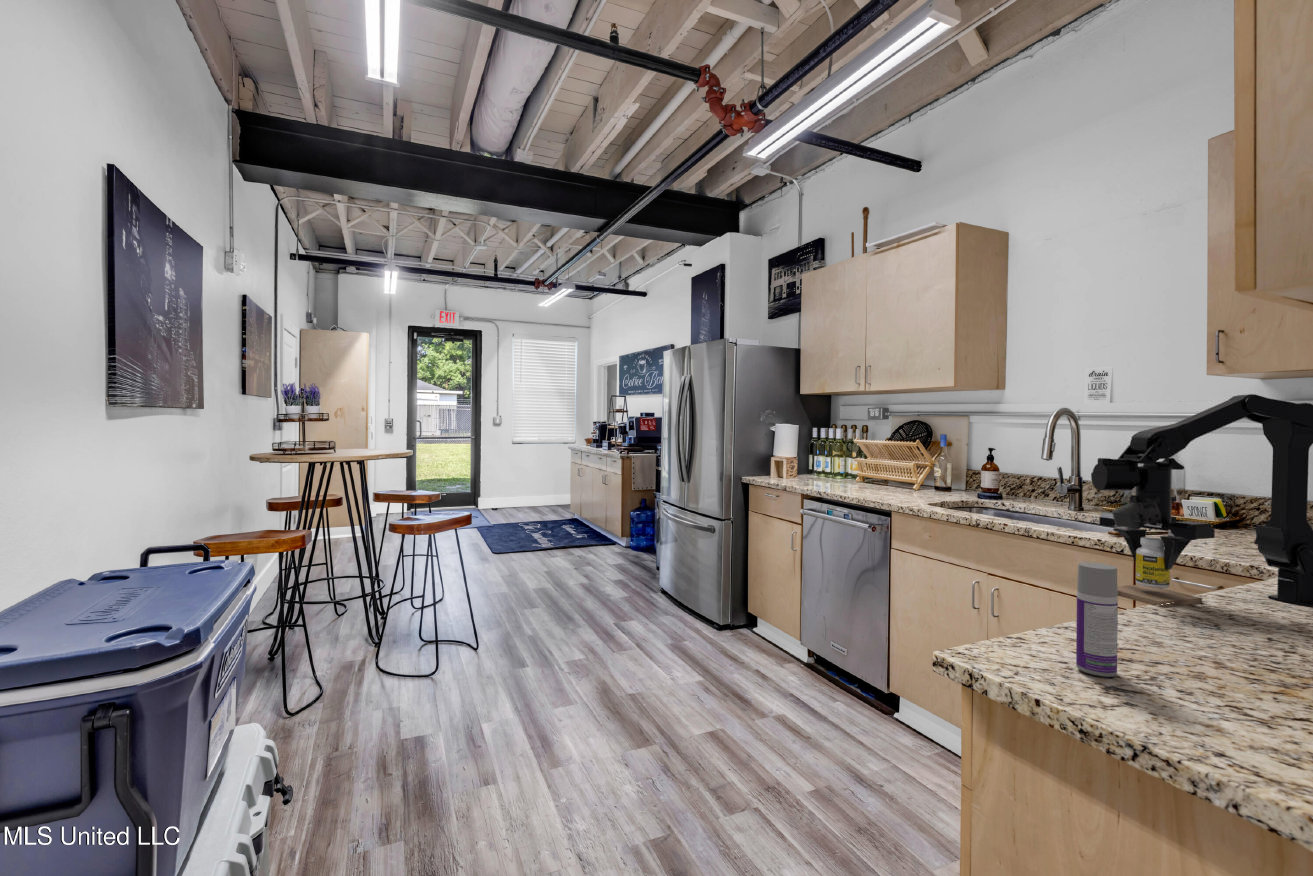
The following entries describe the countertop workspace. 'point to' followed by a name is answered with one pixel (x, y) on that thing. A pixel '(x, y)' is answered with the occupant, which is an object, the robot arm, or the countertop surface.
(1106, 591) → the container
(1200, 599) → the riser
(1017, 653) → the countertop surface
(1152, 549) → the supplement bottle
